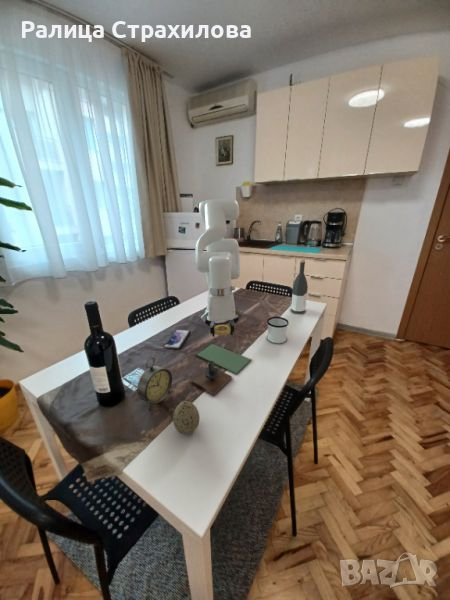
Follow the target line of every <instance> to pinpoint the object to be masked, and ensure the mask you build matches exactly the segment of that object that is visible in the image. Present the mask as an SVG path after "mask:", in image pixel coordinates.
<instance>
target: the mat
mask: <svg viewBox="0 0 450 600" xmlns="http://www.w3.org/2000/svg"><path fill="white" fill-rule="evenodd" d="M196 357H199V358H201V359H203V360H205V361H207V362H209V361H213V362H214V365H215V366H218V367H220V368H223V369H224V370H227V371H229V372H231V373H233V374H235V375H237V374H238V373H240V372H241V371H242V370H243V369H244V368H245V367H246V366H247V365H248V363H250V362H251V358H248V357H245V356H243V355H241V354H238V353H236V352H234V351H232V350H228V349H226V348H223V347H222V346H219V345H216V344H214V343H211V344H209V345H208V346H207V347H205V348H204V349H202V350H201V351H200V352H198V353H197V354H196Z"/></svg>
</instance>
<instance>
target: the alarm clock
mask: <svg viewBox="0 0 450 600" xmlns="http://www.w3.org/2000/svg"><path fill="white" fill-rule="evenodd" d="M150 360H153V363H152V365H149V366H148V362H149V361H150ZM155 362H156V359H155V357H150V358H148V359H147V360H146V363H145V367H146V368H147V369H146V370H144V372H143V373H142V374H141V376H140V378H139V380H138V382H137V387H136V388H137V389H136V391H137V395H138V397H139V399H140V400H142V401H144V402H146V403H148V404H149V405H152V406H153V405H157V404H159V403H161V402H162V401H163V400H164V399H165V398H166V397H167V395H168V394H169V393H171V389H172V385H173V375H172V373H171V372H172V371H170V370H169V369H167V368H166V367H162V366H160V365H155ZM152 406H151V407H149V406H148V411H151V410H152V409H151V408H152Z"/></svg>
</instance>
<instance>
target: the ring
mask: <svg viewBox="0 0 450 600" xmlns="http://www.w3.org/2000/svg"><path fill="white" fill-rule="evenodd" d="M230 332H231V328H230V325H227V324H218V325H215V326H214V333H215V335H217V336H228V335H229V334H230Z"/></svg>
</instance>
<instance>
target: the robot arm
mask: <svg viewBox="0 0 450 600" xmlns="http://www.w3.org/2000/svg"><path fill="white" fill-rule="evenodd" d="M198 213H199V217H200V220H201V222H202V223H203V226H204V229H205V231H204V232H203V233H202V234H201V235H200V236H199V237H198V238H197V239H198V240H197V241H196V244H195V249H194V250H195V251H194V252H195V266H196V270H197V271H198V272H200V273H203V274H205V278H206V282H207V294H208V295H207V307H206V308H205V310H204V313H203V314H202V315H201V316H200V320H201V322H203V323H205V324H206V325H207V326H208V327H209V332H210V335H212V337H213V338H215V335H216V334H215V333H214V327H215V324H223V323H227V322H228V321H229V326H230V328H231V332H230V333H229V334H230V336H233V335H234V333H235V326H236V324H237V323H238V322H239V320H240V319H242V317H243V314H242V313H241V311H240V310H238V309H237V308H236V302H235V296H234V292H233V291H235V290H236V286H233V285H232V280H238V279H239V278H240V275H241V263H240V262H241V261H240V246H239V242H238V240H237V239H235V238H225V236H227V233H228V228H227V221H237V220H238V219H239V216H240V206H239V203H238V201H237V200H236V199H235V198H220V199H219V198H217V199H205V200H202V201H200V202H199V205H198ZM204 249H206V252H205V251H204Z"/></svg>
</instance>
